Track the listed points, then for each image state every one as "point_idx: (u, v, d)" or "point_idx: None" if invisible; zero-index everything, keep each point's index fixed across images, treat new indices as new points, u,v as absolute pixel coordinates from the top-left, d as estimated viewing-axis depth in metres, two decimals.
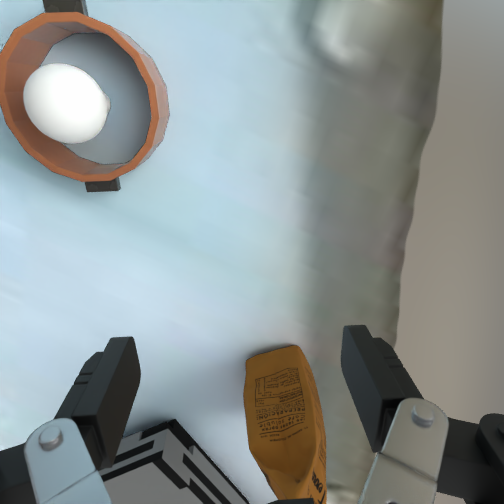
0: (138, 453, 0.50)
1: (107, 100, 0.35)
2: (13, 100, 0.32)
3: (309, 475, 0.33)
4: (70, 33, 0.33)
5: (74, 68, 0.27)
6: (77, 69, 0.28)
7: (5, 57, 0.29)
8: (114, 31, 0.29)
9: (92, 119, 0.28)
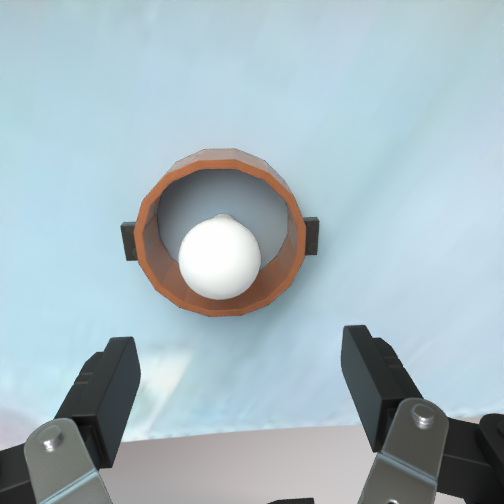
0: None
1: (219, 216, 0.31)
2: (219, 304, 0.32)
3: None
4: (159, 240, 0.33)
5: (182, 245, 0.25)
6: (183, 242, 0.25)
7: (180, 302, 0.31)
8: (146, 197, 0.27)
9: (233, 236, 0.24)
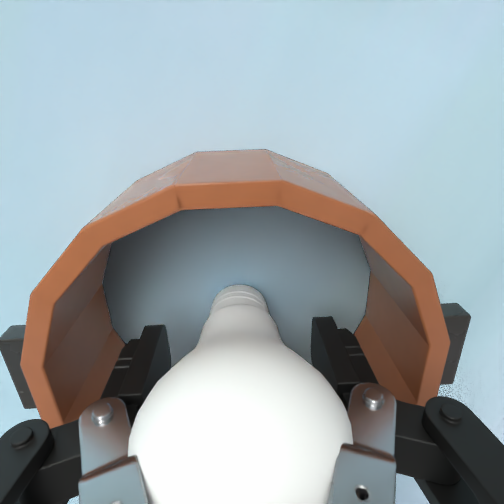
0: None
1: (232, 295, 0.15)
2: None
3: None
4: (112, 336, 0.17)
5: (130, 444, 0.08)
6: (134, 432, 0.08)
7: None
8: (41, 286, 0.10)
9: (292, 442, 0.07)
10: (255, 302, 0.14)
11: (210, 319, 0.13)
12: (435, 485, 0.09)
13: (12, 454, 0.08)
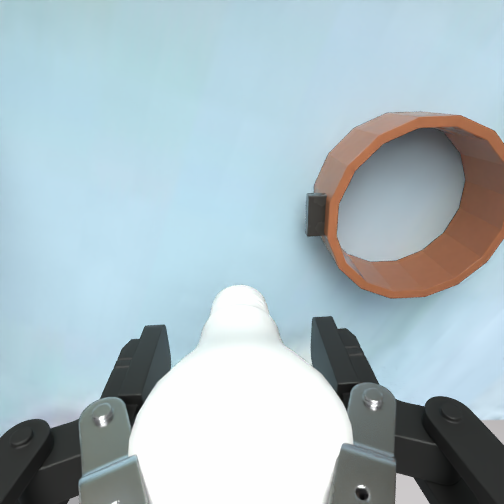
0: None
1: (233, 295, 0.15)
2: (397, 284, 0.29)
3: None
4: None
5: (131, 444, 0.08)
6: (134, 433, 0.08)
7: (363, 282, 0.28)
8: (353, 162, 0.24)
9: (293, 443, 0.07)
10: (255, 302, 0.14)
11: (210, 319, 0.13)
12: (435, 485, 0.09)
13: (12, 455, 0.08)
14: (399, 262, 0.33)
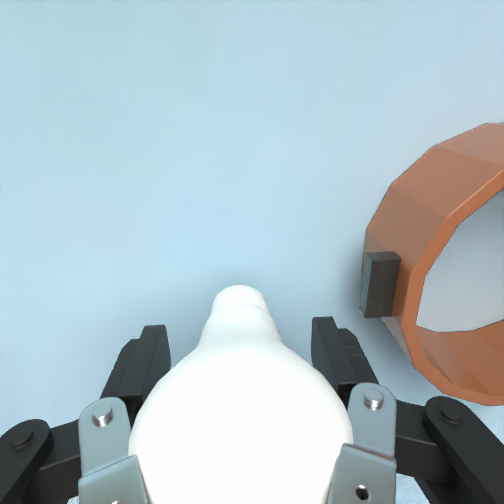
0: None
1: (233, 295, 0.15)
2: (493, 381, 0.19)
3: None
4: None
5: (131, 444, 0.08)
6: (134, 433, 0.08)
7: (448, 386, 0.18)
8: (457, 210, 0.14)
9: (292, 443, 0.07)
10: (255, 302, 0.14)
11: (210, 319, 0.13)
12: (435, 485, 0.09)
13: (12, 455, 0.08)
14: (479, 333, 0.23)
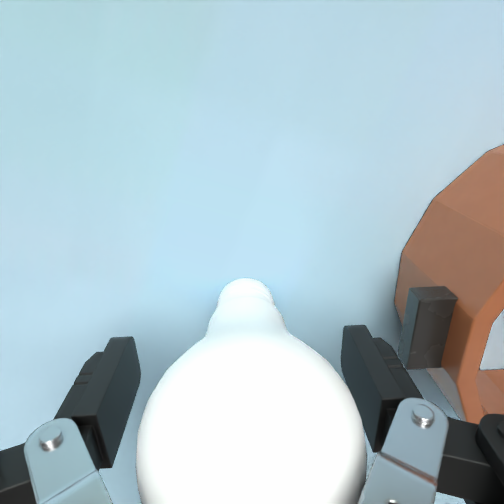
0: None
1: (239, 287, 0.15)
2: None
3: None
4: None
5: (143, 427, 0.09)
6: (146, 416, 0.09)
7: None
8: None
9: (301, 423, 0.07)
10: (261, 295, 0.15)
11: (217, 311, 0.14)
12: None
13: None
14: None
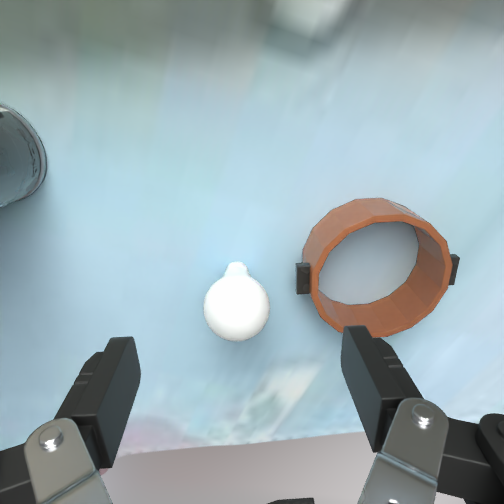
0: None
1: (234, 265, 0.37)
2: (366, 326, 0.38)
3: None
4: None
5: (206, 299, 0.31)
6: (207, 296, 0.31)
7: (339, 327, 0.37)
8: (327, 246, 0.33)
9: (247, 292, 0.30)
10: (242, 267, 0.37)
11: (225, 272, 0.36)
12: None
13: None
14: (371, 305, 0.42)
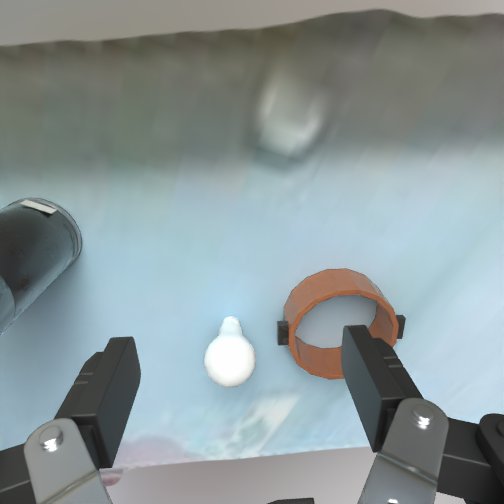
0: None
1: (228, 320, 0.47)
2: (334, 369, 0.48)
3: None
4: None
5: (206, 354, 0.41)
6: (207, 352, 0.41)
7: (311, 371, 0.46)
8: (301, 312, 0.42)
9: (238, 351, 0.39)
10: (235, 322, 0.47)
11: (221, 327, 0.46)
12: None
13: None
14: (339, 349, 0.51)
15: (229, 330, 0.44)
